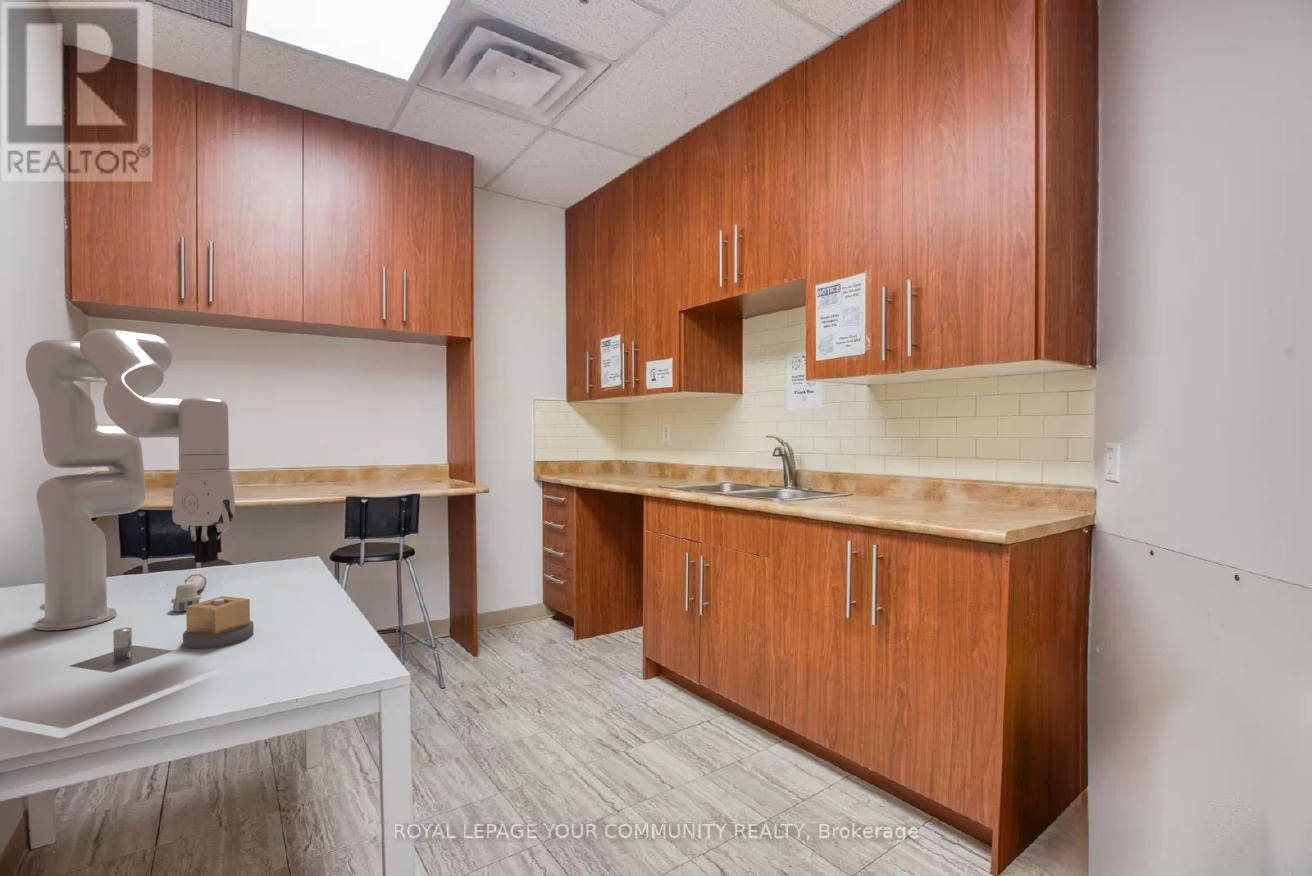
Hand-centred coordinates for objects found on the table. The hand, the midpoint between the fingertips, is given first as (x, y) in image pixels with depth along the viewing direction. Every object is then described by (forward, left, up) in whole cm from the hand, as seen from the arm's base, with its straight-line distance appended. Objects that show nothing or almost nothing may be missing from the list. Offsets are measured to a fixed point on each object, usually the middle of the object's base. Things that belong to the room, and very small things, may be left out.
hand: (206, 561), depth 112 cm
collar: (0, +3, -14) cm, 14 cm away
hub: (0, +3, -17) cm, 17 cm away
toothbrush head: (-36, +24, -17) cm, 46 cm away
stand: (-7, -9, -17) cm, 20 cm away
